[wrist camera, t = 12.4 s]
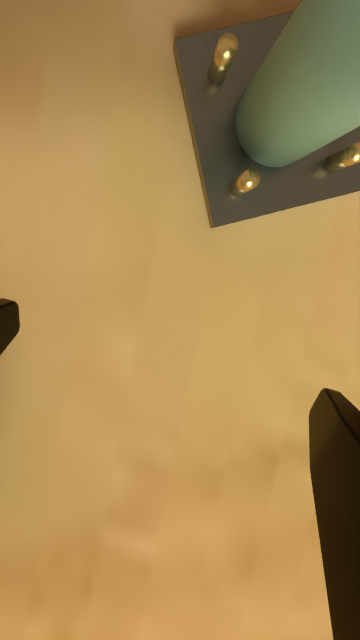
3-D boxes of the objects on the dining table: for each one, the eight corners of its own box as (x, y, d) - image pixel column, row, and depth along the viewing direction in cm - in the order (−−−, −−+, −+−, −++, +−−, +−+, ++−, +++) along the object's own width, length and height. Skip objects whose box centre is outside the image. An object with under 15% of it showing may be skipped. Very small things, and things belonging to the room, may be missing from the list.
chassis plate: (210, 228, 20) (222, 225, 17) (173, 50, 18) (178, 5, 15) (357, 191, 21) (397, 181, 17) (340, 11, 18) (384, -42, 15)
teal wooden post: (227, 157, 19) (434, -70, 5) (246, 60, 18) (573, -553, 4) (306, 175, 19) (674, 16, 6) (329, 83, 18) (849, -379, 5)
